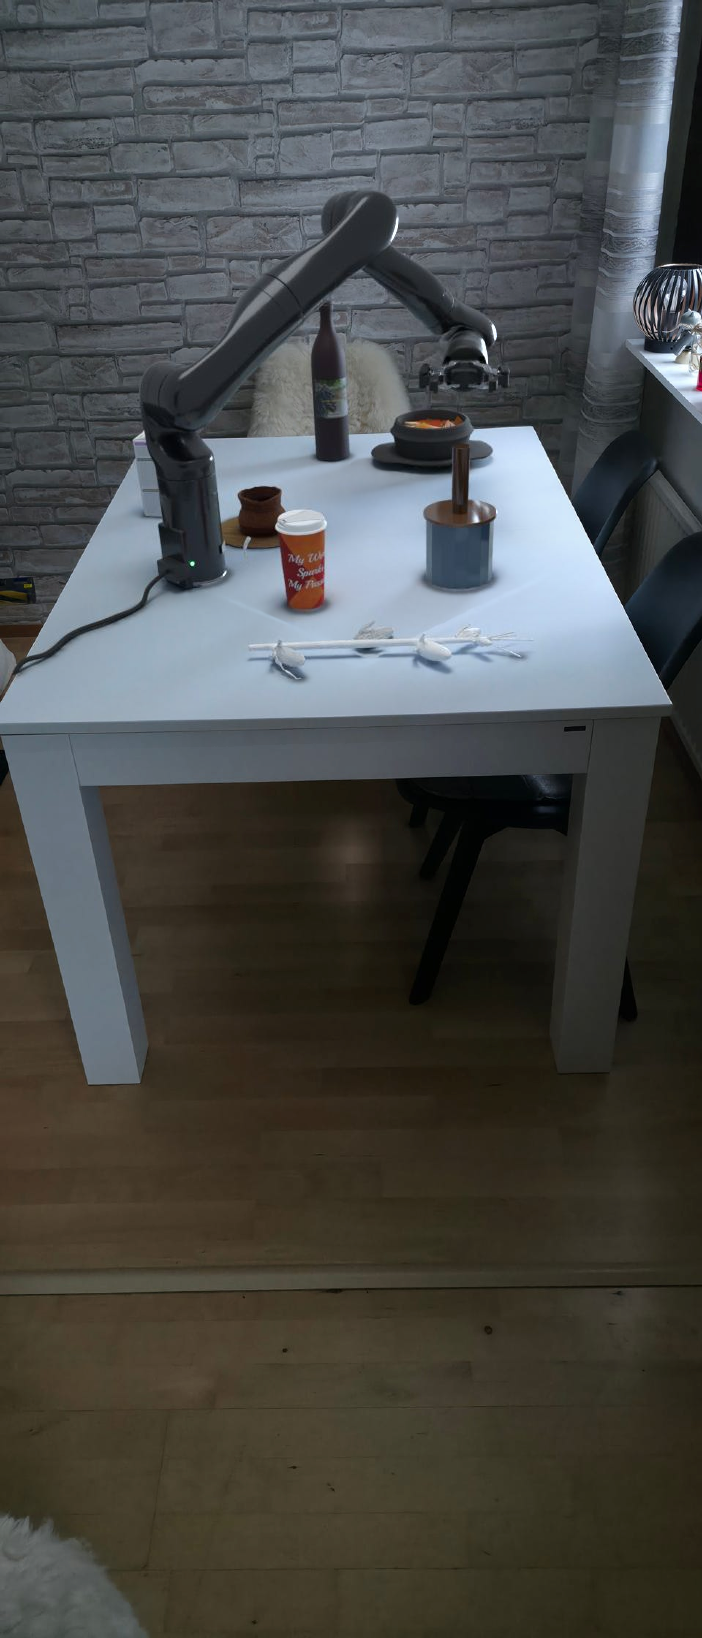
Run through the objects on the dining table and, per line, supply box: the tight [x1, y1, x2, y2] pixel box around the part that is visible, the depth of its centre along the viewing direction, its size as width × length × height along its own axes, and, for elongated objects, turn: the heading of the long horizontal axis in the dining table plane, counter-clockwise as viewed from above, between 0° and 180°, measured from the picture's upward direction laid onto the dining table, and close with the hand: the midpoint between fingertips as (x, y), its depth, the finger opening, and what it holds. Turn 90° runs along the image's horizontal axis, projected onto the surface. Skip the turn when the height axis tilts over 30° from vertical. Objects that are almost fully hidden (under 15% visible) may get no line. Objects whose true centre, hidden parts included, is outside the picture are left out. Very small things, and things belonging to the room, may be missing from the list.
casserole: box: [370, 409, 494, 469], centre depth 228 cm, size 25×19×8 cm
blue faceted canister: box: [425, 519, 495, 590], centre depth 177 cm, size 10×10×10 cm
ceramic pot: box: [221, 485, 287, 549], centre depth 199 cm, size 18×18×7 cm
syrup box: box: [132, 430, 162, 518], centre depth 207 cm, size 6×6×14 cm
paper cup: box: [275, 509, 328, 611], centre depth 169 cm, size 8×8×14 cm
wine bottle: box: [310, 300, 351, 462], centre depth 227 cm, size 7×7×30 cm
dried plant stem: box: [243, 537, 535, 680], centre depth 154 cm, size 12×19×40 cm
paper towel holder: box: [422, 444, 498, 528], centre depth 171 cm, size 11×11×11 cm
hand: (463, 387), depth 173 cm, fingers open, 8 cm apart
